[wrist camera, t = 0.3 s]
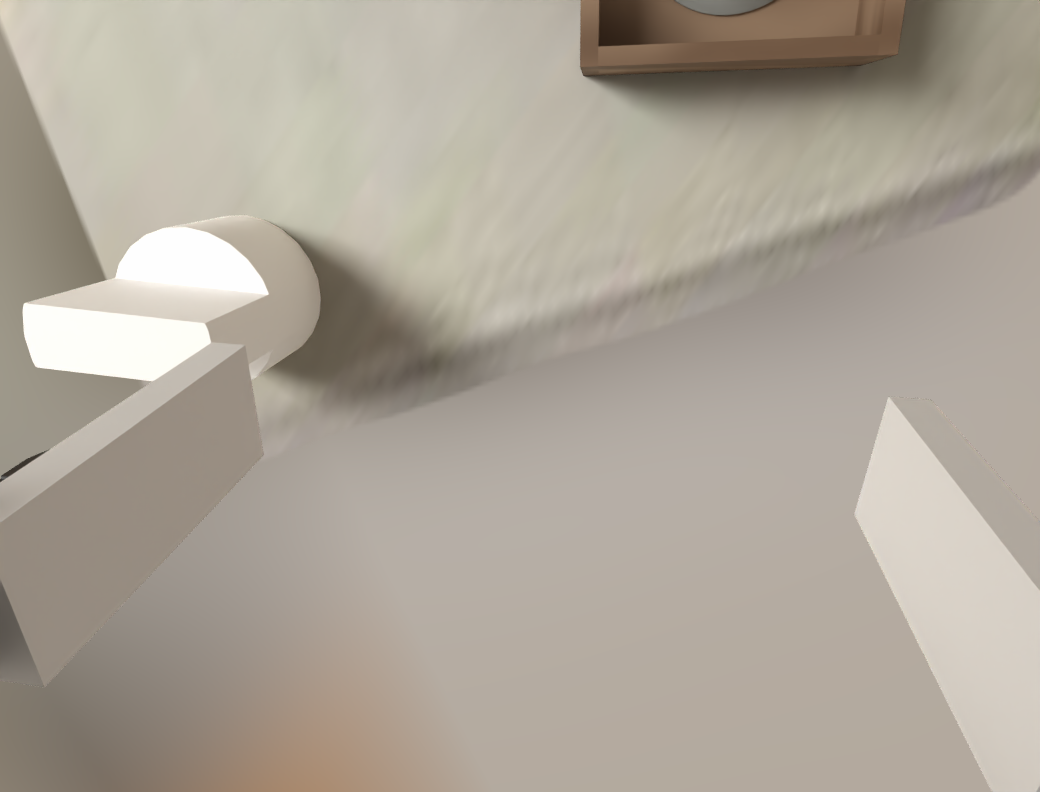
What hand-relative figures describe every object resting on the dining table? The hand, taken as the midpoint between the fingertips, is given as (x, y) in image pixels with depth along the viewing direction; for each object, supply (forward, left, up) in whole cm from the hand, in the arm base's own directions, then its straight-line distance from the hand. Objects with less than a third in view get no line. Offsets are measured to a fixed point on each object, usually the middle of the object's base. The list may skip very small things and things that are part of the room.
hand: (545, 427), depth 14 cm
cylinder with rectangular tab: (+2, -20, -26) cm, 33 cm away
